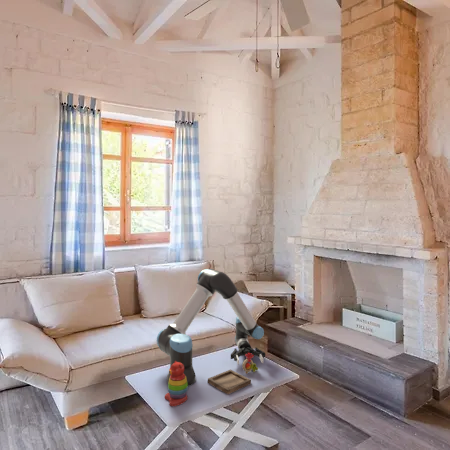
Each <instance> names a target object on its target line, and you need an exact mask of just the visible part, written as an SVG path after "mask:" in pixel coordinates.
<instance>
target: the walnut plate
mask: <svg viewBox="0 0 450 450" xmlns="http://www.w3.org/2000/svg"><path fill="white" fill-rule="evenodd" d="M207 384H209V385H211V386H213V387H214V388H216V389H218V390H219V391H220V392H223V393H225V394H226V395H230V394H232V393H235V392H236V391H239V390H241V389H244V388H245V387H248V386H250V385H252V380H251V379H250V378H248V377H247V376H244V375H243V374H240V373H239V372H236V371H234V370H233V369H228V370H225V371H223V372H220V373H218V374H216V375H214V376H211V377H208V378H207Z"/></svg>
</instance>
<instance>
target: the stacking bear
mask: <svg viewBox="0 0 450 450" xmlns="http://www.w3.org/2000/svg"><path fill="white" fill-rule="evenodd" d="M168 373H170V374H171V375H170V378H169V382H168V383H167V390H168V392H167V393H165V395H164V399H165V400H167V401H168V402H169V404H168V405H169V406H170V407H177V405H178V406H180V405H183V404H184V403H186V401H187V400H188V395H187V393H188V389H189V388H188V387H189V386H188V383H187V378H186V376H185V374H184V365H183V364H182V363H180V362H177V361H175V362H174V363H173V364H172V365H171V367H169V369H168Z"/></svg>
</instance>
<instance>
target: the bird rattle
mask: <svg viewBox="0 0 450 450" xmlns="http://www.w3.org/2000/svg"><path fill="white" fill-rule="evenodd" d="M244 356H245V357H246V359H244V360H243V362H242V364H241V365H242V369H243V372H244V373H245V374H247V375H248V374H249V373H250V372H251V371H253V372H254V373H255V372H256V371H258V370H259V368H258V367H257V364H256V363H254V362H253V360H252V359H253V358H255V356H254V355H252V353H251V354H250V353H248V354H245V355H244Z"/></svg>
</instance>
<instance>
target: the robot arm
mask: <svg viewBox="0 0 450 450" xmlns="http://www.w3.org/2000/svg"><path fill="white" fill-rule="evenodd" d="M195 286H196V288H195V290H194V292H193V293H192V295H191V296H190V298H189V299H188V300H187V302H186V304H185V305H184V307H183V308H182V309H181V311H180V313H179V314H178V315H177V317H176V318H175V319H174V322H173V323H169V324H168V325H167V327H166V328H164V329H162V330H160V331H159V333H158V334H157V336H156V344H157V347H158V348H159V350H161V351H162V352H163V353H164V354H166V355H167V356H169V363H170V364H169V365H170V367H171V365H172V364H173V363H174V362H175V361H177V362H180V363H182V364H183V365H184V374H185V376H186V378H187V383H188V387H189V386H192V385H193V384H195V383H196V380H197V377H196V371H195V369H194V366H193V345H194V344H193V340H192V338H191V336H189V335H188V334H186V332H187V330H188V328H189V327H190V326H191V325H192V323H193V322H194V319H195V318H196V317H197V315H198V313H199V312H200V311H201V309H202V308H203V306H204V304H205V303H206V301H207V300H208V299H209V298H210V297H212V296H213V295H214V294H215V292H216V293H218V294H219V295H220V296H221V297H222V299H224V300H226V301H227V303H228V305H230V307H231V309H232V311H233V312H234V314H236V315H235V316H237V317H235V336H234V342H235V344H236V346H237V348H233V349H234V350H232V352H231V353H230V360H233V361H235V362H236V364H237V365H240V357H243V356H245V354H248V353H250V354H251V353H252V355H254V357H258V358H259V360H260V362H261V364H264V359H265V358H266V352H265V351H263V350H261V349H259V348H258V347H254V348H252V346H251V344H250V342H249V339H248V336H249V337H251V338H253V339H255V340H261V339H262V338H263V337H264V335H265V331H264V328H263V327H261V326H260V325H259V324H258V323H257V322H256V320H255V319H254V317H253V315H252V313H251V312H250V311H249V308H248V307H247V306H246V304H245V302H244V300H243V299H242V298H241V296H240V294H239V293H238V290H239V289H238V288H237V286H236V284H235V283H234V282H233V280H232V278H230V277H229V275H227V274H226V273H225V272H223V271H218V270H215V269H212V268H206V269H203V270H201V271H200V272H199V274H198V276H197V283H196V284H195ZM170 367H169V368H170ZM170 375H171V374H170V373H169V372H168V374H167V377H166V383H167V384H168V382H169V378H170Z"/></svg>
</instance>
